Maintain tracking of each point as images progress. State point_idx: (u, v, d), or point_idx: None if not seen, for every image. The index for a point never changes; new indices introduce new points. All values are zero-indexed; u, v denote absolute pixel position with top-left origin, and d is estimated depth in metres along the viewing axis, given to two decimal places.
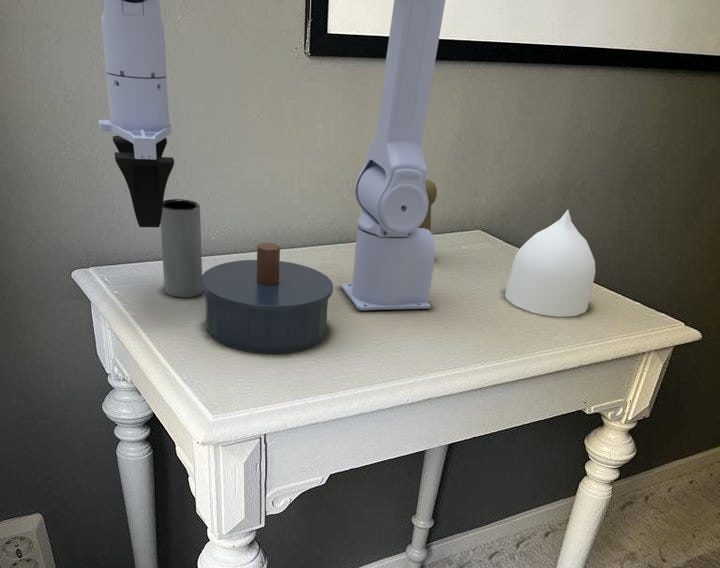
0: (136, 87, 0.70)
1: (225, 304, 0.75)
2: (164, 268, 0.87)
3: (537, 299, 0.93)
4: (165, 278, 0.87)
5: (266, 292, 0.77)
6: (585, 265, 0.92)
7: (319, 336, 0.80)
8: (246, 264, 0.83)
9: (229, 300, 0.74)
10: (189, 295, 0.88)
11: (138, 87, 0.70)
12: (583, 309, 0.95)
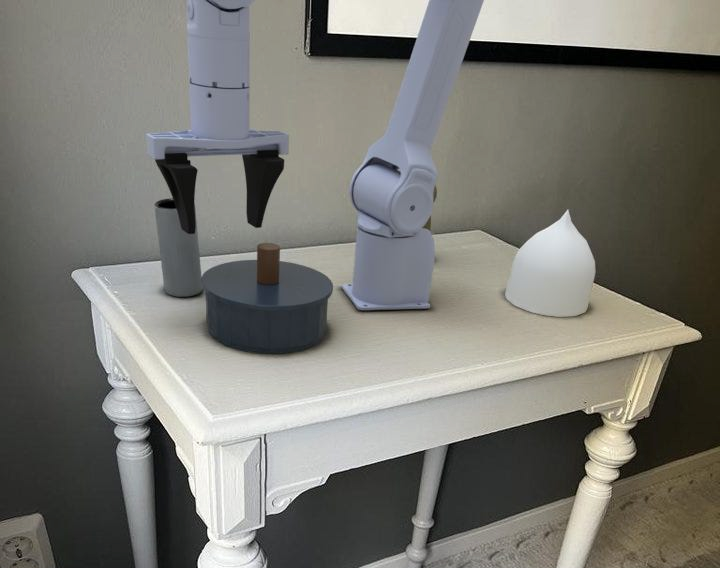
0: (191, 92, 0.69)
1: (225, 304, 0.75)
2: (163, 268, 0.87)
3: (537, 299, 0.93)
4: (164, 278, 0.87)
5: (266, 292, 0.77)
6: (585, 265, 0.92)
7: (319, 336, 0.80)
8: (246, 264, 0.83)
9: (229, 300, 0.74)
10: (189, 294, 0.88)
11: (192, 93, 0.69)
12: (583, 309, 0.95)
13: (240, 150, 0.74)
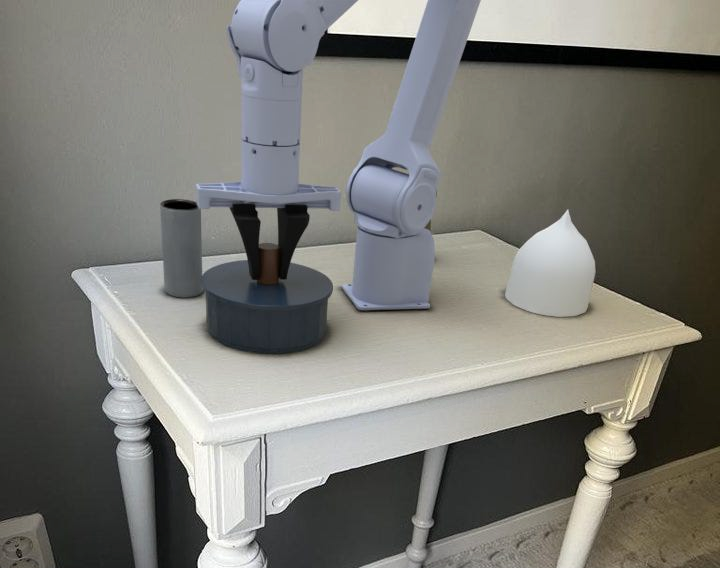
0: (241, 147, 0.71)
1: (225, 304, 0.75)
2: (164, 268, 0.87)
3: (537, 299, 0.93)
4: (165, 278, 0.87)
5: (266, 292, 0.77)
6: (585, 265, 0.92)
7: (319, 336, 0.80)
8: (246, 264, 0.83)
9: (229, 300, 0.74)
10: (189, 295, 0.88)
11: (241, 148, 0.71)
12: (583, 309, 0.95)
13: (289, 204, 0.75)
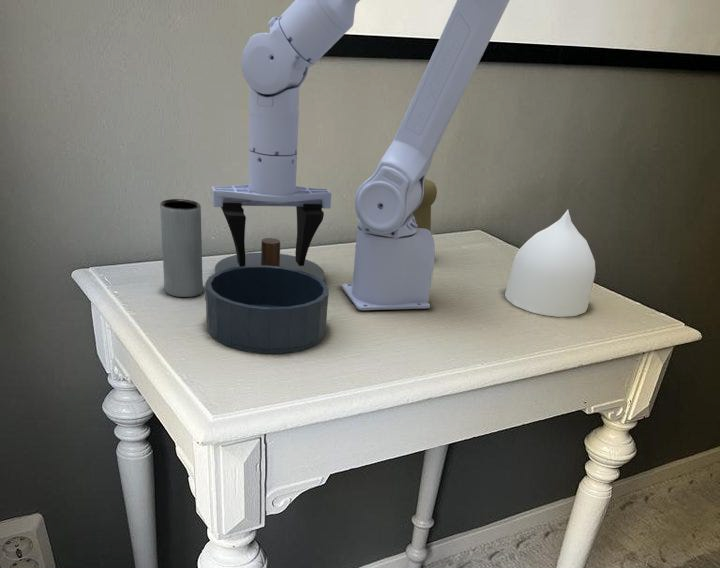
0: (249, 156, 0.87)
1: (225, 304, 0.75)
2: (164, 267, 0.87)
3: (537, 299, 0.93)
4: (165, 277, 0.87)
5: None
6: (585, 265, 0.92)
7: (319, 336, 0.80)
8: (252, 256, 0.99)
9: None
10: (188, 295, 0.88)
11: (249, 157, 0.87)
12: (583, 309, 0.95)
13: (288, 203, 0.91)
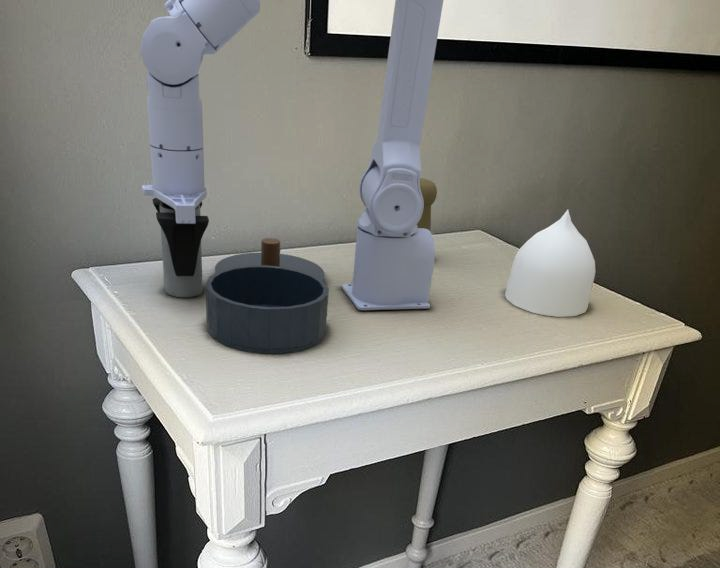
0: (177, 159, 0.79)
1: (225, 304, 0.75)
2: (164, 268, 0.87)
3: (537, 299, 0.93)
4: (164, 278, 0.87)
5: None
6: (585, 265, 0.92)
7: (319, 336, 0.80)
8: (252, 256, 0.99)
9: None
10: (188, 295, 0.88)
11: (179, 159, 0.79)
12: (583, 309, 0.95)
13: None
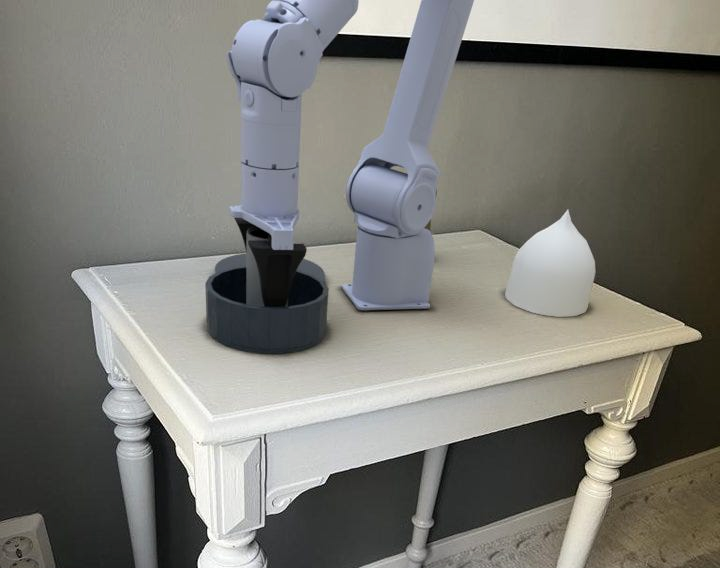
0: (273, 178, 0.71)
1: (225, 304, 0.75)
2: (248, 300, 0.80)
3: (537, 299, 0.93)
4: None
5: None
6: (585, 265, 0.92)
7: (319, 336, 0.80)
8: None
9: None
10: None
11: (275, 178, 0.71)
12: (583, 309, 0.95)
13: None
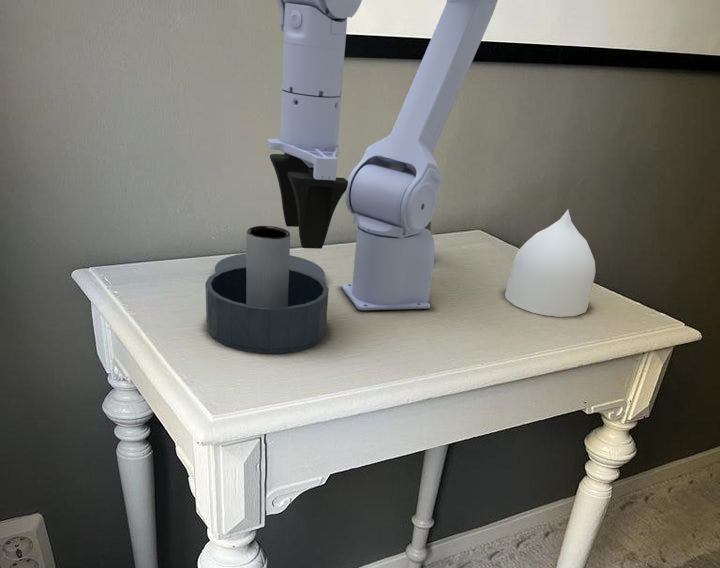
0: (316, 106, 0.68)
1: (225, 304, 0.75)
2: (248, 300, 0.80)
3: (537, 299, 0.93)
4: None
5: None
6: (585, 265, 0.92)
7: (319, 336, 0.80)
8: None
9: None
10: None
11: (318, 106, 0.68)
12: (583, 309, 0.95)
13: None
